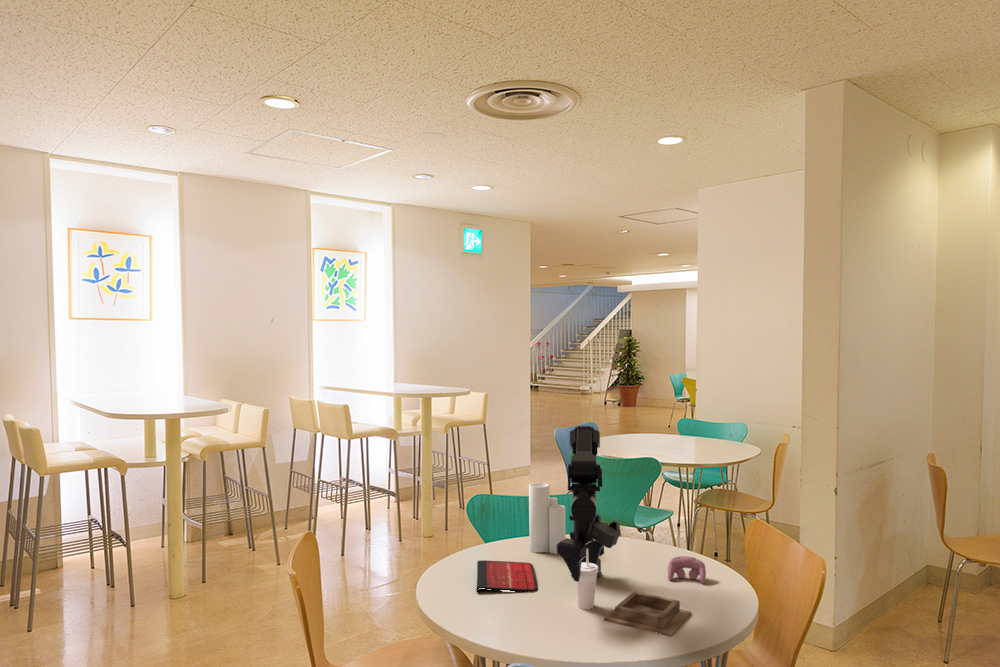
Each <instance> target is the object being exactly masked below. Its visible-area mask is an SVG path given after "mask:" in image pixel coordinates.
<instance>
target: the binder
mask: <svg viewBox="0 0 1000 667" xmlns="http://www.w3.org/2000/svg"><path fill="white" fill-rule="evenodd" d="M476 564H477V565H476V566H477V568H476V569H477V570H476V573H477V575H476V579H477V580H476V588H475V589H476V593H477V592H478V589H479V588H485V589H491V590H510V591H515V592H520V593H533V591H535V592H537V591H538V585H537V579H536V574H535V569H534V565H533V564H532V563H531V562H521V561H501V560H500V561H499V560H485V559H484V560H477V563H476Z"/></svg>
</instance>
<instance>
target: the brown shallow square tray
mask: <svg viewBox="0 0 1000 667" xmlns="http://www.w3.org/2000/svg"><path fill="white" fill-rule="evenodd" d="M680 606H681V605H680V600H677V599H672V598H667V597H662V596H657V595H654V594H649V593H644V592H638V591H632V592H631V593H630V594H629V595H628V596H626V597H625V598H624V599H623V600H622V601H620V603H618V604H617V605H616V606H614V609H613V610H611V611H610V612H609V613H608V614H606V615H605V616H604V617H603V621H606V622H610V623H615V624H619V625H623V626H627V627H631V628H635V629H640V630H642V631H643V630H644V631H648V632H651V631H652V632H653V633H655V632H657V633H656V634H659V633H661V634H660V635H664V636H669V637H672V636H673V635H674V633H676V631H678V629H679V628H680V627H681V626H682V625H683V624H684V623H685V621H687V619H688V618H690V616H691V615H692V611H690V610H686V609H681V607H680Z"/></svg>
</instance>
